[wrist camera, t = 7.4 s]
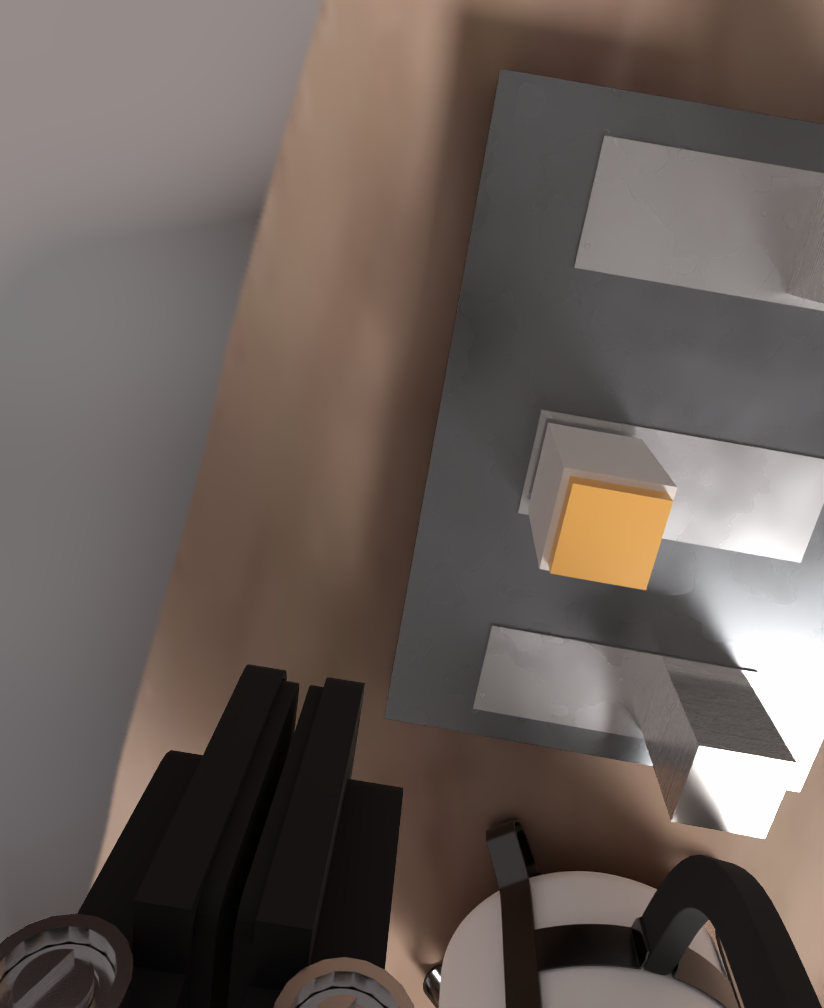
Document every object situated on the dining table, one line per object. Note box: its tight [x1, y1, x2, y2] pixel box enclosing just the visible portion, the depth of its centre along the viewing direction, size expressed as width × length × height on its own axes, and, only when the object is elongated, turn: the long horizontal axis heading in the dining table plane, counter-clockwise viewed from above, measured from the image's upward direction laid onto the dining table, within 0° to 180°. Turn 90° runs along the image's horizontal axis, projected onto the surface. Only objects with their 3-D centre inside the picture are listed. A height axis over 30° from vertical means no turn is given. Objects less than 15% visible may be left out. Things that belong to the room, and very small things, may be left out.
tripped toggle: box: [528, 423, 677, 590], centre depth 23 cm, size 3×3×5 cm
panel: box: [384, 69, 824, 838], centre depth 24 cm, size 22×16×7 cm
